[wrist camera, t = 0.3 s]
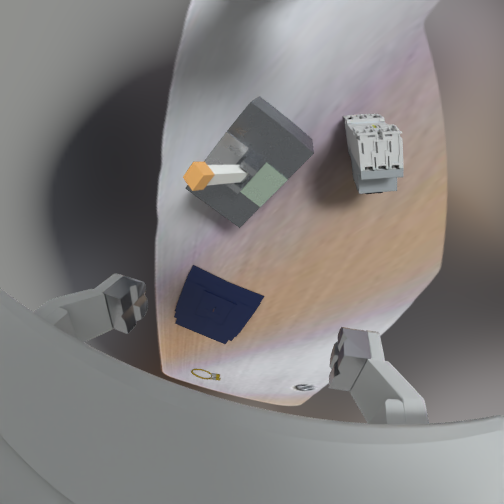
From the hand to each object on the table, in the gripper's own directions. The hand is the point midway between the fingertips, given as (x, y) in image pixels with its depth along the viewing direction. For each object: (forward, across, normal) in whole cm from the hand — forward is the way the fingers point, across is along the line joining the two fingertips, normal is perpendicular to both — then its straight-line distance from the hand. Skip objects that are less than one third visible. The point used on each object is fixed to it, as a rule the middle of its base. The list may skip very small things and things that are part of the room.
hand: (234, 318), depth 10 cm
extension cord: (+78, +32, +109) cm, 138 cm away
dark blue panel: (+63, +23, +50) cm, 84 cm away
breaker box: (+50, +11, -2) cm, 52 cm away
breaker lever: (+40, +10, +1) cm, 42 cm away
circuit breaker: (+51, -12, -8) cm, 53 cm away
